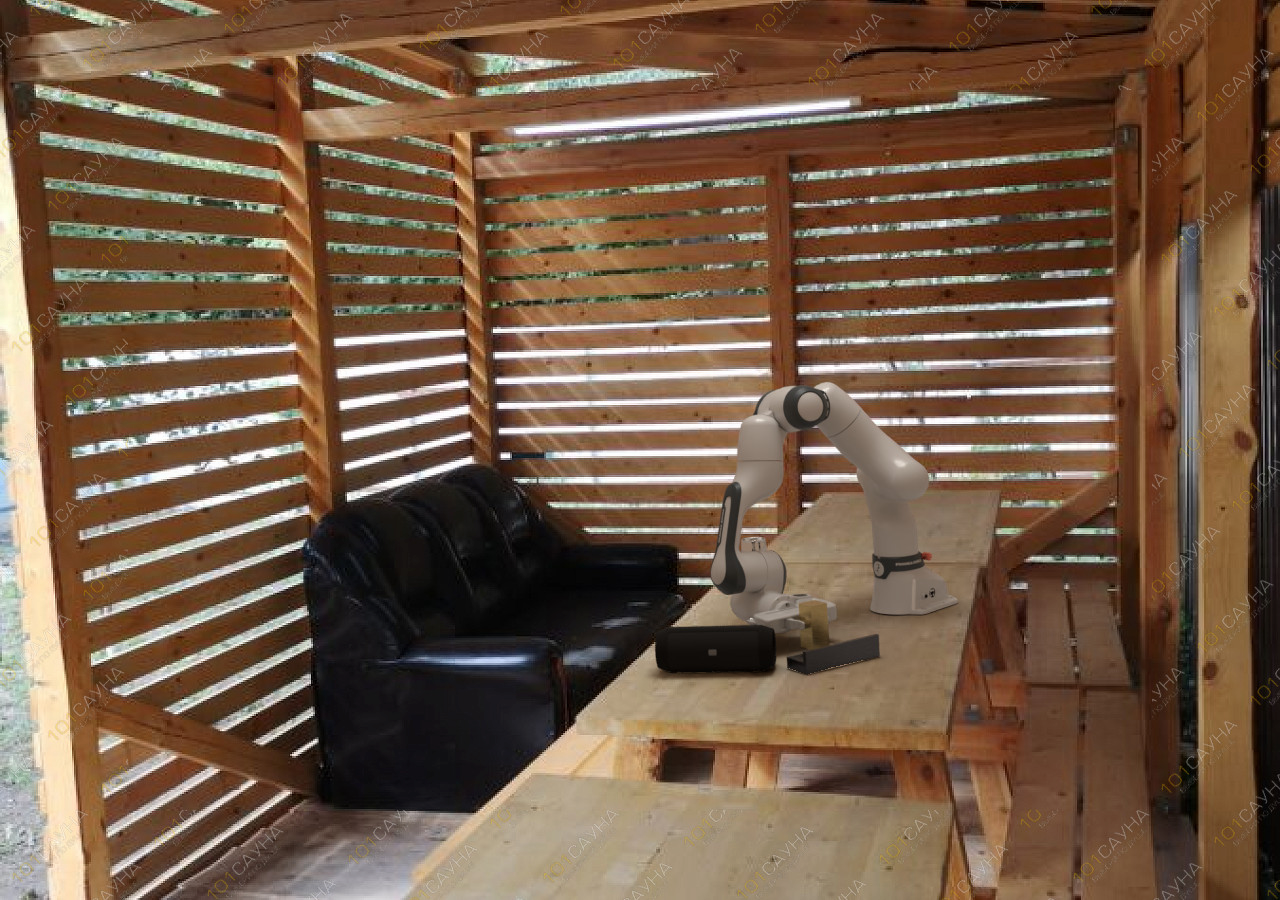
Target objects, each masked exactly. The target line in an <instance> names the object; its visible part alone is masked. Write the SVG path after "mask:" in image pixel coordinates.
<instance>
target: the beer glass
mask: <svg viewBox="0 0 1280 900" xmlns="http://www.w3.org/2000/svg"><path fill="white" fill-rule="evenodd" d="M740 543H741V544H740V547H741V548H740V552H745V551H764V550H767V541H766V537H765V536H748V537H744V538H740Z"/></svg>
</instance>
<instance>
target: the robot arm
mask: <svg viewBox="0 0 1280 900" xmlns="http://www.w3.org/2000/svg"><path fill="white" fill-rule="evenodd" d="M815 427H817V428H818V429H819V430H820V432H821V433H822V434H823V435H824V436H825V437H826V438H827V439H828V441H829V442H830V443H831V444H832V445H833V446H834V447H835V448H836V450H837V451H838V452H839V453H840V454H841V456H843V458H844V459H846V461H848V462H850V463H851V464H853V466H855V467H856V478H857V482H858V483H859V485H860V487H861V488H862V491H863V494H864V498H865V501H866V506H867V510H868V513H869V518H870V522H871V531H872V532H871V533H872V548H873V553H872V555H871V558H872V560H871V562H872V563H871V564H872V565H871V566H872V567H871V568H872V570H873V574H874V575H873V585H872V586H873V589H872V597H871V602H870V607H869V610H870V611H872V612H873V613H878V614H881V615H882V614H885V615H926V614H929V613H931V612H935V611H938V610H941V609H944V608H947V607H950V606H954V605H956V604H958V603H959V599H958V598H957V597H955V596H953V595H951V594H949V593H948V592H949V591H948V587H947V586H948V585H947V583H946V580H945V579H944V578H943V577H942V576H941V575H939V574H938V573H936V571H935V572H934V570H932V569H930V568H929V567H927V566H926V563H925V561H924V560H926V561H932V558H933V554H932V553H931V552H927V551H924V552H921V551H919V539H918V534H919V533H918V522H917V518H916V517H915V516H914V514H913V512H912V509H911V507H910V506H911V505H910V503H909V502H912V501H915V500H918V499H920V498H921V497H923V495H925V493H926V492H927V490H928V488H929V484H930V476H929V473H928V471H927V469H926V467H925V466H924V465H923V464H921V463H920V462H919V461H918V460H916V459H915V458H913V456H911V455H910V454H909V452H907V451H906V450H905V449H904V448H902V446H900V445H899V444H898V443H897V442H896V441H895V440H894V439H892V438H891V437H890V436H889V435H887V434H886V433H885V432H884V431H883V430H882V429H881V428H880V427H879V426H878V425H877V424H876V423H875V422H874V421H873V420H872V418H871V417H870V416H869V415H868V414H867V413H866V411H864V410H863V408H862V407H861V406H860V405H859V404H858V403H857V401H856V400H855V399H853V398H852V397H851V396H850V395H849V394H848V393H847V392H846V391H844V390H843V389H842V388H841V387H839V386H838V385H836V384H835V383H833V382H829V381H825V382H821V383H819V384H817V385H815V386H814V387H813V386H809V385H805V384H799V385H789V386H783V387H781V388H778V389H773V390H772V389H771V390H769V391H768V392H765V394H763V395H762V396H761V397H760V398H759V399H758V401H757V403H756V405H755V409H754V412H753V414H752V415H751V416H748V417H747V418H744V419H743V421H742V422H741V424H740V427H739V433H738V441H737V447H736V448H737V449H736V450H737V451H736V461H737V462H736V470H735V475H734V476H733V477H734V478H733V479H732V481H731V483H730V484H728V485H727V487H726V488H725V491H724V494H723V498H722V502H721V503H722V504H721V511H720V517H719V524H718V531H717V537H716V544H715V545H716V546H715V552H714V554H713V558H712V561H711V564H710V565H711V566H710V570H709V571H710V572H709V573H710V574H709V575H710V579H711V580H710V581H711V582H712V584H713V586H715V588H716V589H717V590H718V591H719V592H720V593H722V594H723V595H725V596H730V601H729V606H730V608H731V611H732V613H733V614H734V615H735V616H736V617H737V618H738V619H739V620H741V621H743V622H744V623H746V625H764V626H767V627H770V628H773V629H774V631H775V635H776V634H785V633H789V632H790V631H792V630H793V631H794V630H799V631H800V630H804V629H808V622H807V621H805V620H801V621H800V620H799V603H803V602H807V601H812V600H817V601H821V602H825V603H827V614H828V625H829V624H830V622H831V621H836V619H837V617H838V614H837V613H838V611H837V605H836V604H835V603H834V602H831V601H829V600H825V599H821V598H817V597H813V596H812V594H808V593H801V594H800V593H799V594H787V593H784V591H785V588H786V583H787V576H788V575H787V567H786V564H785V562H784V560H783V558H782V557H781V555H780V554H779V553H777V552H776V551H775V550H771V549H770V550H769V549H768V550H764V551H745V552H741V550H740V545H741V544H740V543H741V537H742V528H743V522H744V521H743V520H744V517H745V515H746V513H747V511H748V510H749V509H750V508H751V507H753V506H755V505H756V504H758V503H760V502H762V501H764V500H766V499H768V498H770V497H771V496H773V495H774V494H775V493H776V492H777V491H778V490H779V488H780V487H781V486H782V484H783V479H784V443H785V439H786V437H787V435H788V434H789V433H791V434H792V433H796V432H800V431H807V430H810V429H813V428H815Z"/></svg>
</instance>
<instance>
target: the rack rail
mask: <svg viewBox="0 0 1280 900" xmlns="http://www.w3.org/2000/svg"><path fill="white" fill-rule="evenodd" d="M880 653H881V652H880V635H879V634H878V633H873V634H869V635H865V636H861V637H856V638H853V639H848V640H844V641H841V642H837V643H831V644H829V645H827V646H823V647H819V648H814V649H806V650H803V651H802V653H799V654H795V655H791V656H786V668H790V669H793V670H796V671H798V672H797V673H799V672H801V673H800V674H802V673H804V674H803V675H805V674H807V675H806V676H809V675H808V674H810V673H814V672H818V671H821V670H825V669H828V668H831V667H836V666H840V665H844V664H849V663H853V662H857V661H861V660H865V661H868V660H867V659H869V660H872V659H871V658H873V659H876V658H875V657H877V658H880V657H881V655H880ZM879 656H880V657H879ZM861 662H862V661H861ZM857 663H858V662H857ZM853 664H854V663H853ZM849 665H850V664H849ZM790 669H789V670H790ZM793 670H792V671H793ZM796 671H795V672H796ZM825 671H826V670H825ZM818 673H819V672H818ZM814 674H815V673H814ZM810 675H811V674H810Z"/></svg>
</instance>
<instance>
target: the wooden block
mask: <svg viewBox="0 0 1280 900" xmlns="http://www.w3.org/2000/svg"><path fill="white" fill-rule="evenodd" d="M799 620H800V621H801V620H805V621H807V622H808V629H804V630H800V629H799V634H800V647H801V648H804V649H806V650H810V649H814V648H819V647H823V646H827V645H830V636H829V635H830V634H829V633H830V632H829V624H828V614H827V603H825V602H821V601H817V600H812V601H807V602H803V603H799Z"/></svg>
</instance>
